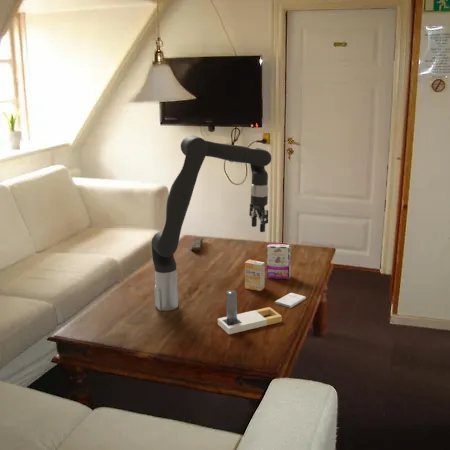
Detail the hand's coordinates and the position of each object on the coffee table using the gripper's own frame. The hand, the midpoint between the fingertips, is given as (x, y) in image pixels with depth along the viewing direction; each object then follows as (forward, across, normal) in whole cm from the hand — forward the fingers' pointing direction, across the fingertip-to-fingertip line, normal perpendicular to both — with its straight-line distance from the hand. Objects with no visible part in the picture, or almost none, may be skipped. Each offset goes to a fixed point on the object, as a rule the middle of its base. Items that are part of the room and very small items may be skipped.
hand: (258, 229), depth 261 cm
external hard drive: (+29, +20, +7) cm, 36 cm away
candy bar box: (+29, -8, +16) cm, 34 cm away
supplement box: (+29, 0, -1) cm, 29 cm away
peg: (+29, +32, -26) cm, 51 cm away
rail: (+29, +32, -18) cm, 46 cm away
